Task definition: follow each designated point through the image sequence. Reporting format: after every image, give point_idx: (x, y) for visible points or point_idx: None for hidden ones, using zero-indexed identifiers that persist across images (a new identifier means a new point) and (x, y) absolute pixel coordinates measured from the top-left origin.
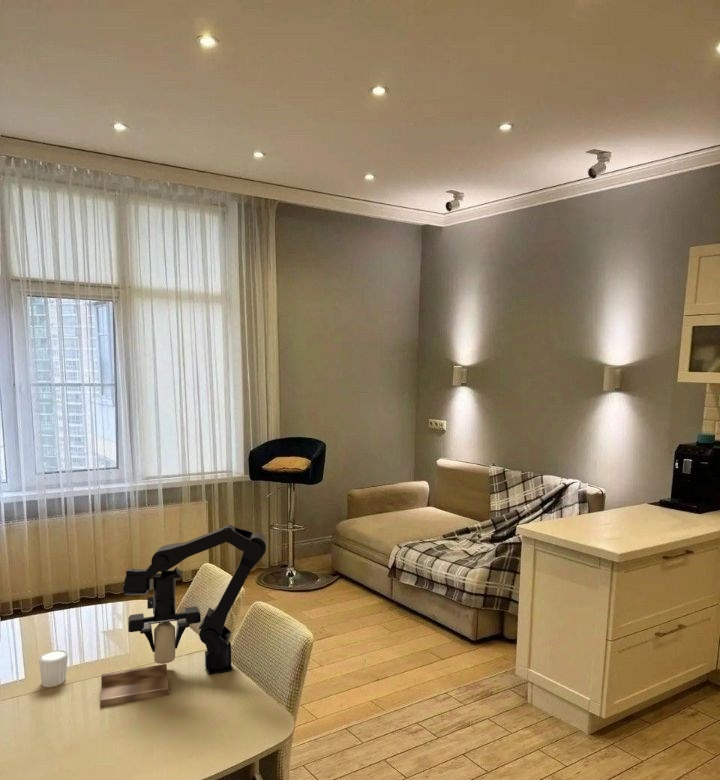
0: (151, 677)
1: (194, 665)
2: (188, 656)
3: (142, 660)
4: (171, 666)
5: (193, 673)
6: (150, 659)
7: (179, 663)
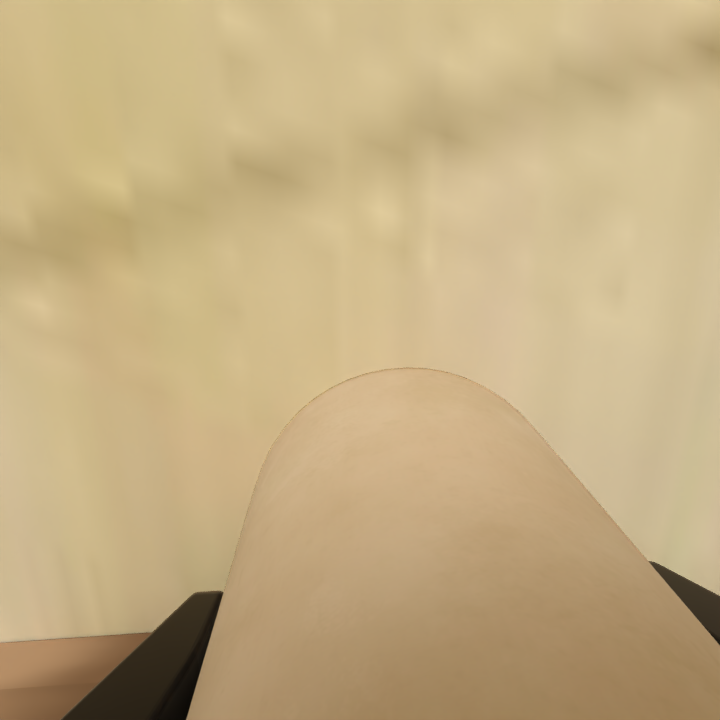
0: None
1: (716, 417)
2: (705, 137)
3: (85, 54)
4: (467, 365)
5: None
6: (197, 58)
7: (565, 314)
